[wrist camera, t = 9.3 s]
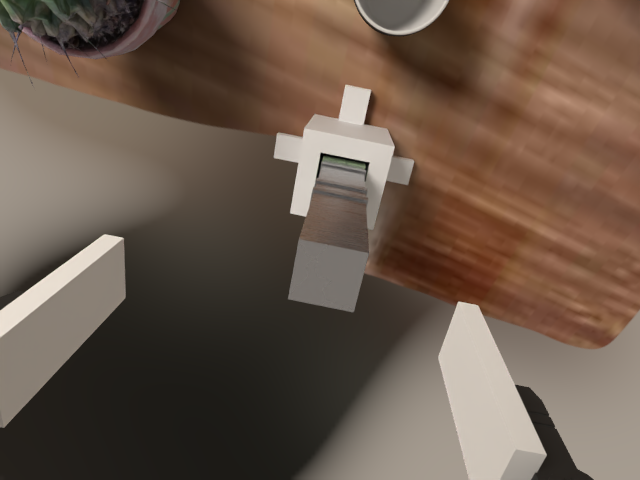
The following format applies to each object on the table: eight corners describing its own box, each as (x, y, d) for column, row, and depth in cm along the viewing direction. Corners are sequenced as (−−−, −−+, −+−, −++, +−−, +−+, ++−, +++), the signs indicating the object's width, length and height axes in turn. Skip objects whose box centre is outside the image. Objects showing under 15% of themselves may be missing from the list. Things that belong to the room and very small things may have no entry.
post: (325, 149, 46) (296, 236, 24) (365, 157, 46) (372, 251, 24) (318, 187, 48) (285, 300, 26) (356, 195, 48) (355, 314, 26)
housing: (287, 72, 50) (269, 77, 40) (429, 101, 50) (447, 113, 40) (268, 206, 57) (248, 239, 47) (392, 232, 57) (400, 270, 47)
